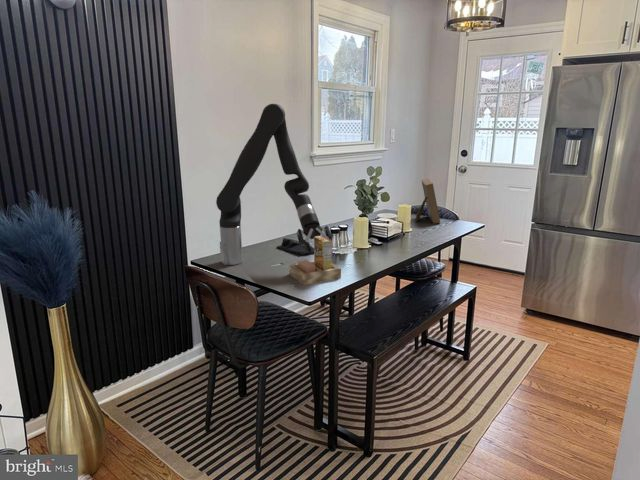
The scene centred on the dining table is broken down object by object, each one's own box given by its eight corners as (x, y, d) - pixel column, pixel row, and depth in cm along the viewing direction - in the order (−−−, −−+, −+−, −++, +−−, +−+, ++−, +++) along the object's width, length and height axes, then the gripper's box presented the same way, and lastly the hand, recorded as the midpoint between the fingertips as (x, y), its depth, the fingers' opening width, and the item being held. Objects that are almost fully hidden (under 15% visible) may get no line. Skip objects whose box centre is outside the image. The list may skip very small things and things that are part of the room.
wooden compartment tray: (303, 288, 173) (303, 275, 171) (289, 277, 185) (289, 264, 183) (340, 281, 180) (341, 268, 178) (324, 271, 192) (324, 259, 190)
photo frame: (435, 216, 295) (437, 178, 288) (440, 223, 274) (442, 183, 267) (412, 216, 296) (413, 178, 290) (415, 223, 276) (417, 183, 269)
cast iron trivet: (297, 258, 211) (297, 249, 210) (274, 248, 228) (274, 239, 227) (324, 253, 219) (323, 243, 218) (299, 243, 237) (299, 234, 235)
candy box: (313, 271, 186) (313, 236, 182) (322, 270, 188) (322, 235, 184) (323, 278, 179) (323, 241, 175) (332, 276, 181) (332, 240, 177)
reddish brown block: (306, 281, 176) (306, 266, 174) (297, 275, 183) (297, 261, 181) (315, 279, 178) (315, 265, 176) (306, 273, 184) (306, 259, 183)
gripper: (294, 213, 183) (306, 247, 176) (325, 210, 189) (338, 243, 182) (290, 223, 189) (301, 257, 182) (320, 220, 195) (332, 252, 188)
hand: (319, 250), depth 182 cm, fingers open, 8 cm apart
